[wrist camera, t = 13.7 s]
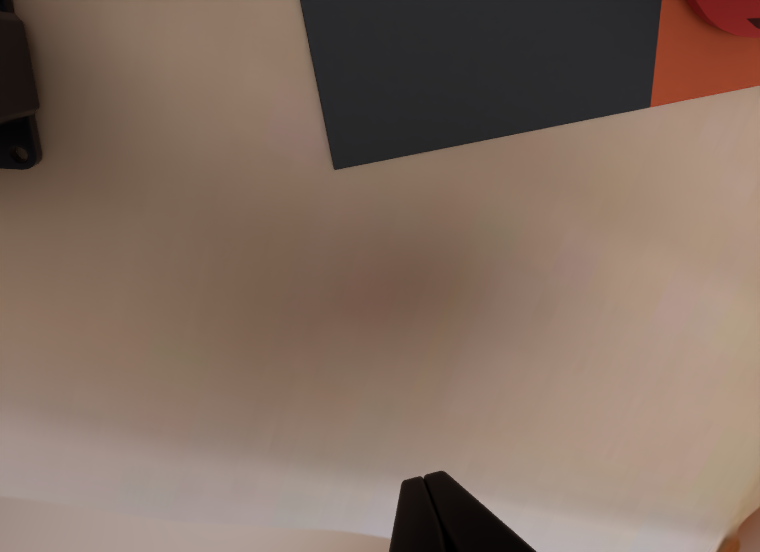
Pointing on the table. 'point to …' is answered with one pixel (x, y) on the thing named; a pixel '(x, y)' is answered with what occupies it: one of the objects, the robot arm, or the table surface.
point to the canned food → (730, 15)
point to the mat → (472, 69)
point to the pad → (699, 57)
